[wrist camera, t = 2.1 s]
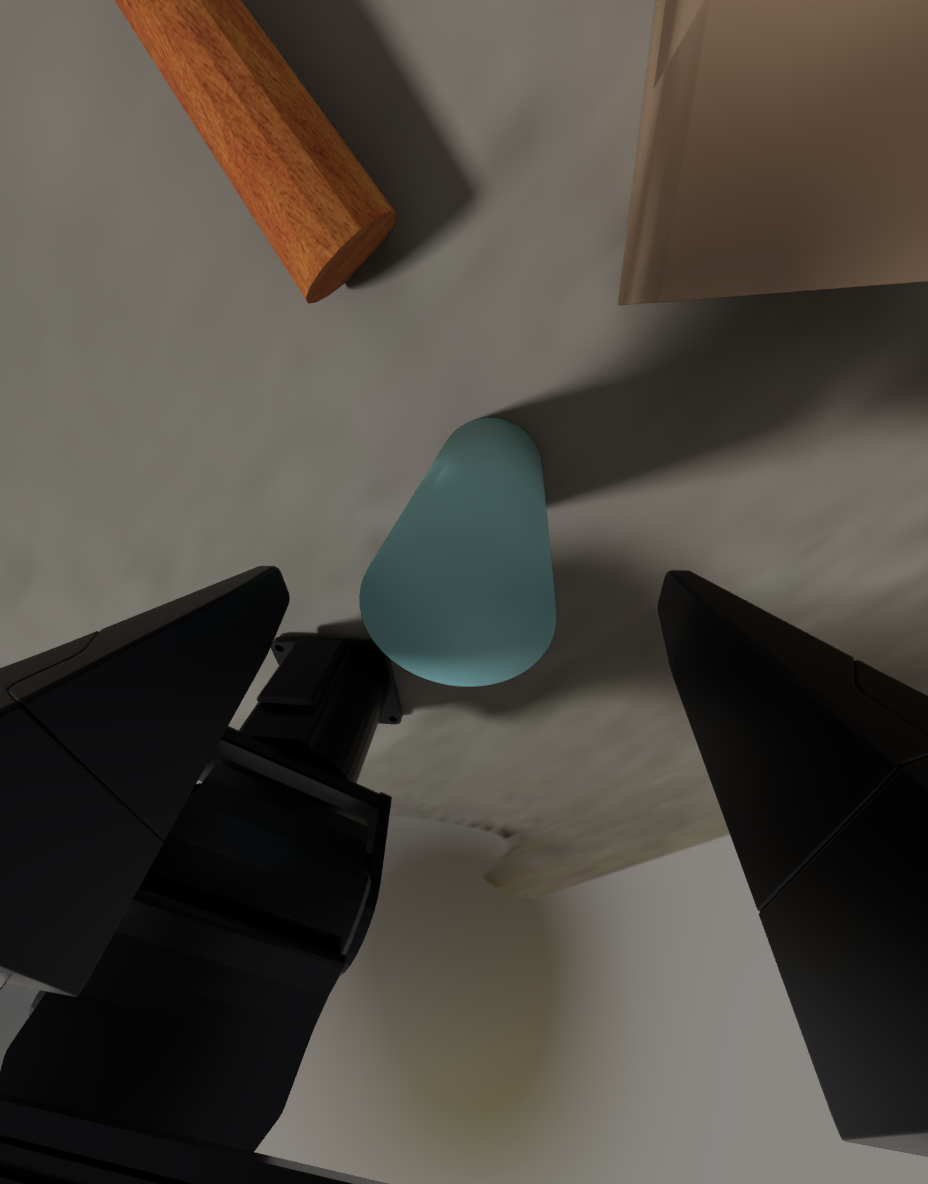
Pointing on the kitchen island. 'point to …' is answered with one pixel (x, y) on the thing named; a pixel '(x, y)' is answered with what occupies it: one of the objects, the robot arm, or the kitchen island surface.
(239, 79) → the wooden maraca
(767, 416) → the kitchen island surface
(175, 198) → the kitchen island surface
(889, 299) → the kitchen island surface
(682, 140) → the hole block
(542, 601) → the pin
